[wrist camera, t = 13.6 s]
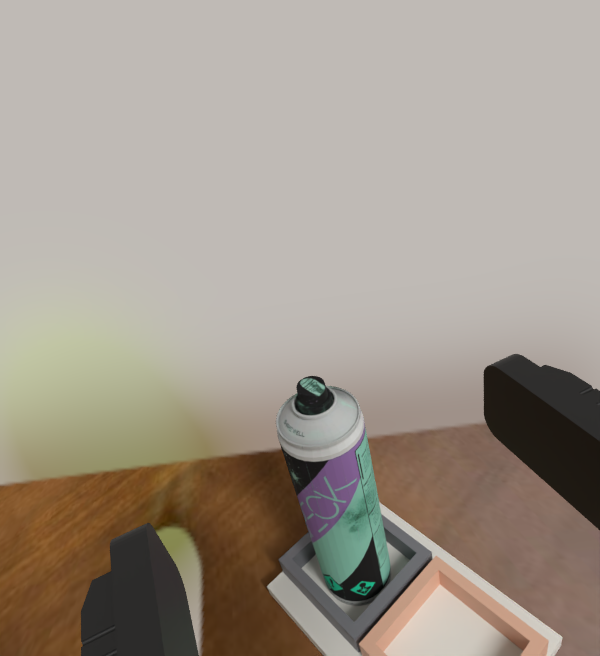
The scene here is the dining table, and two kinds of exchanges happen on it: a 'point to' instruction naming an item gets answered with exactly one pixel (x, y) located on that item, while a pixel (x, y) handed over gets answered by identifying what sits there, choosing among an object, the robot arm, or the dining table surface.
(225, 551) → the dining table surface
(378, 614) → the board
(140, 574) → the robot arm
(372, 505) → the spray can
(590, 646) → the dining table surface
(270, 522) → the dining table surface
